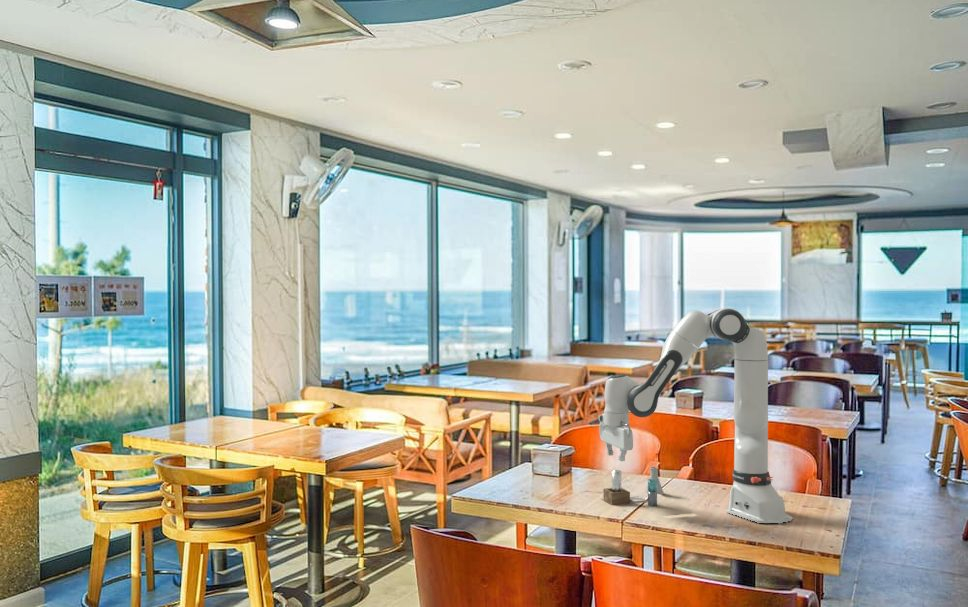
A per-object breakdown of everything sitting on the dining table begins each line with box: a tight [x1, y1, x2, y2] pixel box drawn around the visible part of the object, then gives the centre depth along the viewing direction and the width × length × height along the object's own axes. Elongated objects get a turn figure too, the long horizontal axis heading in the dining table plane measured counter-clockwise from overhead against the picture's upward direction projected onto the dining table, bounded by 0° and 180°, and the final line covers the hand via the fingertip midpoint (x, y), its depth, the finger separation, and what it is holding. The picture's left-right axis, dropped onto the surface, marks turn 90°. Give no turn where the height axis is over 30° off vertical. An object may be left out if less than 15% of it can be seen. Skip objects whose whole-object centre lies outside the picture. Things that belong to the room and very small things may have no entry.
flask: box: [644, 466, 665, 496], centre depth 286 cm, size 7×7×10 cm
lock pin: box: [611, 469, 622, 493], centre depth 272 cm, size 3×3×11 cm
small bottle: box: [647, 478, 658, 508], centre depth 267 cm, size 3×3×10 cm
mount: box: [601, 487, 648, 506], centre depth 273 cm, size 8×15×5 cm, turn 106°
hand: (615, 457), depth 272 cm, fingers open, 8 cm apart
